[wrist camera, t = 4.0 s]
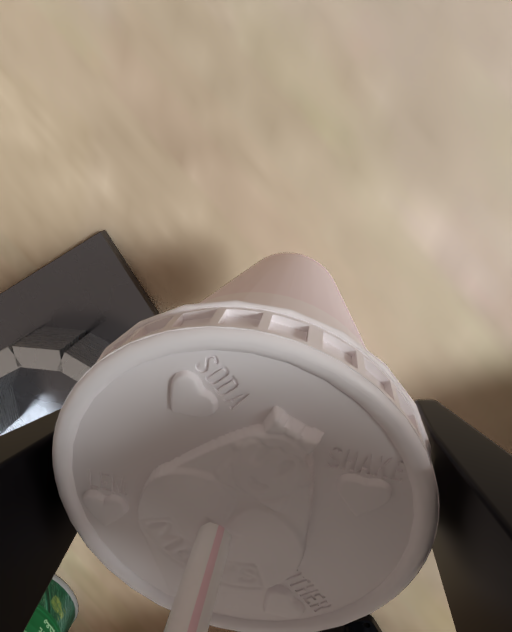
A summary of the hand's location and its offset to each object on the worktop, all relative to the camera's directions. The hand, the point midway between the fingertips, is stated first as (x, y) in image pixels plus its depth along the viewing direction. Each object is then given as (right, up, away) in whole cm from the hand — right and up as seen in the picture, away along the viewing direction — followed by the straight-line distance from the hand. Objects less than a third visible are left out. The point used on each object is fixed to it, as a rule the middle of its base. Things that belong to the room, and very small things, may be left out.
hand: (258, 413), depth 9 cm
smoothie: (+1, +3, +7) cm, 7 cm away
